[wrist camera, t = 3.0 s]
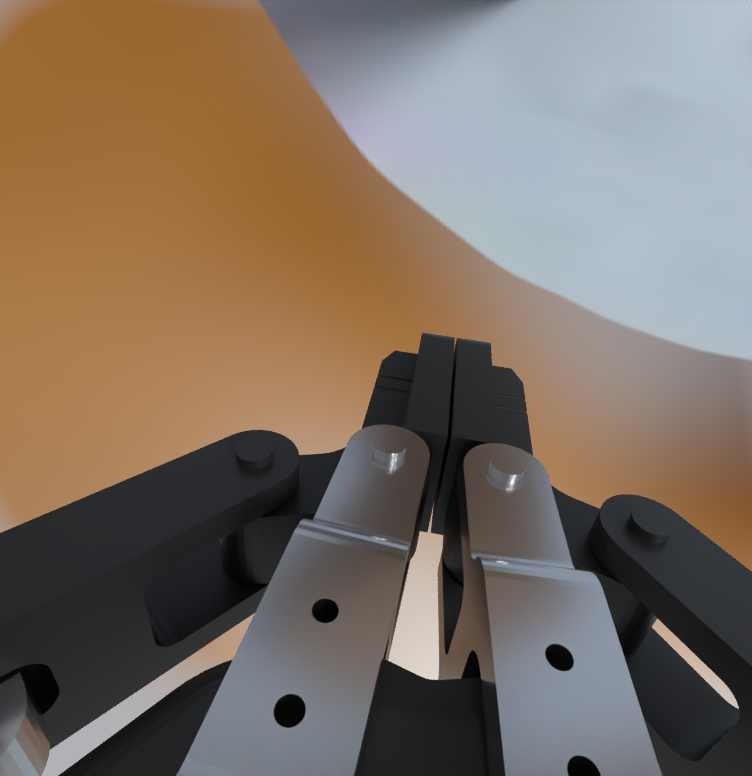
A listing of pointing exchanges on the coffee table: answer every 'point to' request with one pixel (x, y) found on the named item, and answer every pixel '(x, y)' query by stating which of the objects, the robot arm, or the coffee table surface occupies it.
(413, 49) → the coffee table surface
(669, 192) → the coffee table surface
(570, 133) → the coffee table surface
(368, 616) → the robot arm
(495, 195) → the coffee table surface
